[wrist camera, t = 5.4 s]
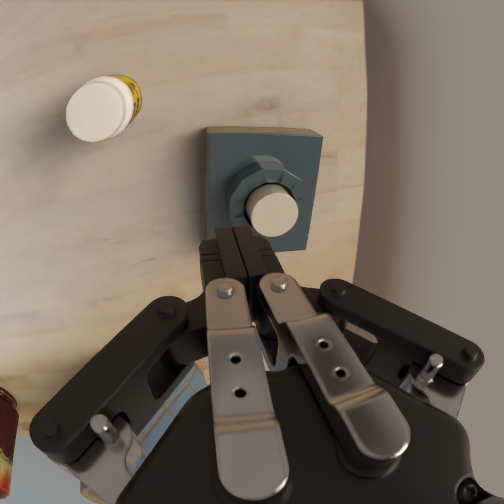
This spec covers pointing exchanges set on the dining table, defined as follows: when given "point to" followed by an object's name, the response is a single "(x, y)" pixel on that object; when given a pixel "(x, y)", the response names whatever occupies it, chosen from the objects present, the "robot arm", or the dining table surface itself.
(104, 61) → the dining table surface
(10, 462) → the vase
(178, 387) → the planter
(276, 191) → the white button cap
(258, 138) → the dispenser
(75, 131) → the supplement bottle
